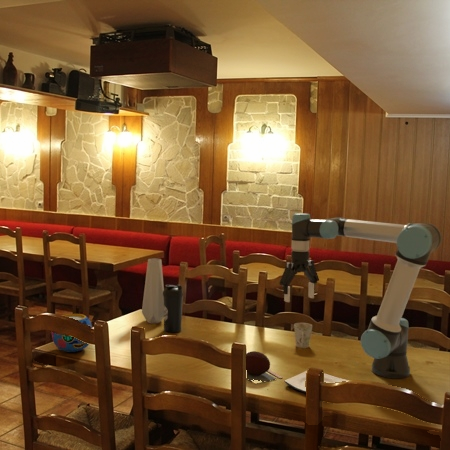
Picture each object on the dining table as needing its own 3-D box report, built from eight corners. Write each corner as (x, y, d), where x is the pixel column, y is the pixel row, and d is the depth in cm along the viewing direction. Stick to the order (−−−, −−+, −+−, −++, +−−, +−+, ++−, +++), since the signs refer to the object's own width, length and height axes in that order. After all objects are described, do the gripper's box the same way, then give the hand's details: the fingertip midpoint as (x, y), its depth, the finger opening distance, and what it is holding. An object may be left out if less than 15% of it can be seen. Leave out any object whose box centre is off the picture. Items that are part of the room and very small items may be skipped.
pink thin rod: (282, 378, 223) (282, 377, 223) (280, 378, 223) (280, 378, 223) (261, 366, 236) (261, 365, 236) (258, 366, 235) (258, 365, 235)
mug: (311, 343, 267) (311, 323, 266) (312, 352, 255) (313, 330, 254) (293, 342, 268) (294, 322, 267) (293, 351, 256) (294, 329, 254)
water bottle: (160, 328, 285) (161, 283, 283) (180, 327, 288) (181, 282, 286) (164, 334, 276) (165, 287, 273) (184, 332, 279) (185, 286, 276)
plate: (355, 387, 217) (355, 381, 216) (326, 403, 202) (326, 396, 201) (310, 373, 230) (310, 367, 230) (280, 387, 215) (280, 380, 215)
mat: (276, 379, 222) (276, 378, 222) (255, 384, 217) (255, 383, 216) (254, 367, 234) (254, 366, 234) (234, 371, 229) (234, 370, 229)
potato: (245, 368, 232) (246, 346, 231) (273, 373, 227) (274, 351, 226) (237, 375, 224) (237, 352, 223) (265, 380, 219) (266, 357, 218)
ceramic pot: (60, 360, 237) (60, 325, 235) (46, 348, 251) (45, 315, 250) (99, 352, 247) (99, 319, 246) (83, 341, 262) (83, 309, 260)
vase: (156, 317, 306) (157, 256, 302) (169, 322, 297) (170, 259, 293) (137, 320, 298) (137, 258, 294) (149, 325, 289) (150, 262, 285)
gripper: (316, 247, 249) (314, 294, 251) (271, 251, 235) (270, 301, 237) (328, 249, 243) (326, 297, 245) (283, 253, 229) (282, 305, 231)
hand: (299, 299), depth 241 cm, fingers open, 13 cm apart
